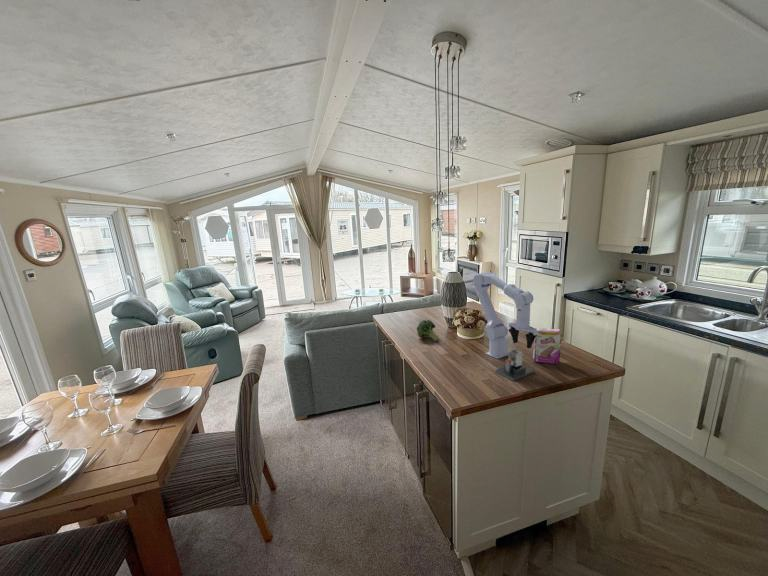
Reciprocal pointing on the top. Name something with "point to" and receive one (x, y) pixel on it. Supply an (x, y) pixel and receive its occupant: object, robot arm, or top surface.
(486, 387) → the top surface
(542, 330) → the candy bar box
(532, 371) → the stand base
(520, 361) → the layered white box
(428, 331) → the vegetable
